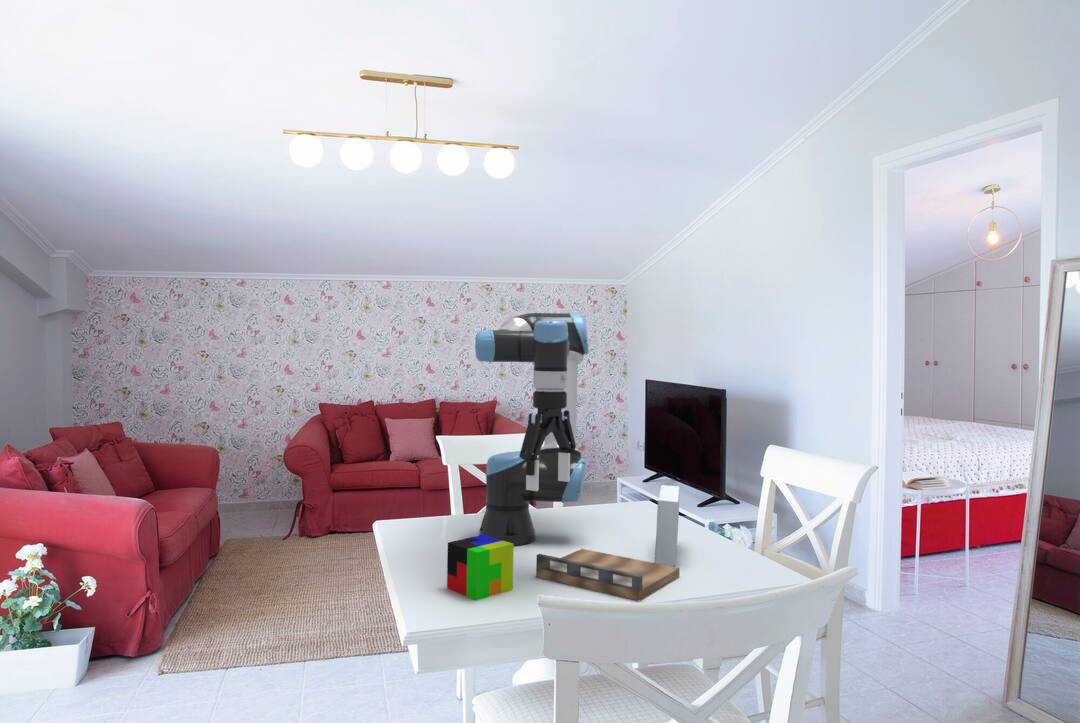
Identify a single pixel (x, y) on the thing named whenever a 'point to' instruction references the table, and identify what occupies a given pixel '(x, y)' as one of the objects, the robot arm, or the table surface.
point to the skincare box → (667, 525)
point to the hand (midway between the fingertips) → (548, 485)
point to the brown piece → (606, 573)
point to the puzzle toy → (480, 566)
